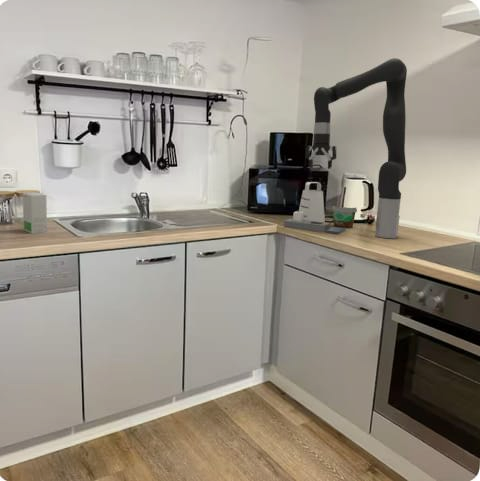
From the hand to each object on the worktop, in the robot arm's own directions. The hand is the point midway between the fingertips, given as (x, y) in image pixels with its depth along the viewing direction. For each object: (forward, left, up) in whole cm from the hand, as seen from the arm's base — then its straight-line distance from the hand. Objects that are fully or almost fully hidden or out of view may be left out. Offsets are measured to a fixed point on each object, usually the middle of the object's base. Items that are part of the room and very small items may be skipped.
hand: (320, 168), depth 212 cm
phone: (-11, +4, -28) cm, 31 cm away
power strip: (+3, +4, -28) cm, 29 cm away
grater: (+9, -19, -29) cm, 35 cm away
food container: (-10, -10, -29) cm, 32 cm away
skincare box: (+91, +85, -29) cm, 128 cm away
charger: (+8, +4, -28) cm, 29 cm away
